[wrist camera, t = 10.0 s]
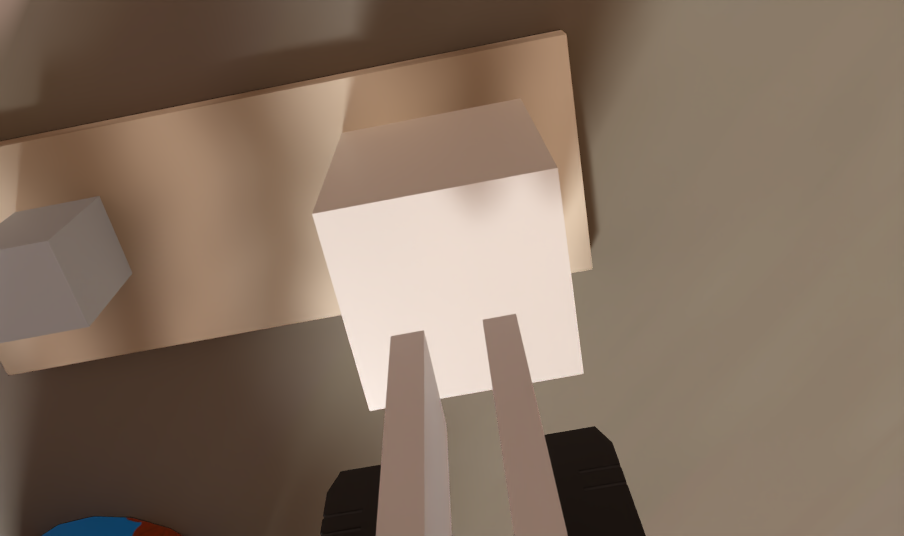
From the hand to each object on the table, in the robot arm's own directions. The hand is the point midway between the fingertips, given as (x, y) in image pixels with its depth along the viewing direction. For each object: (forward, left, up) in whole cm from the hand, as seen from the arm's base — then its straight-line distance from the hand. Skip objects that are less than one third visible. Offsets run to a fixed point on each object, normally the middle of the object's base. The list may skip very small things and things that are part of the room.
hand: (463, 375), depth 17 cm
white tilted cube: (0, 0, -11) cm, 11 cm away
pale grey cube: (-14, +1, -11) cm, 18 cm away
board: (-7, 0, -12) cm, 14 cm away
